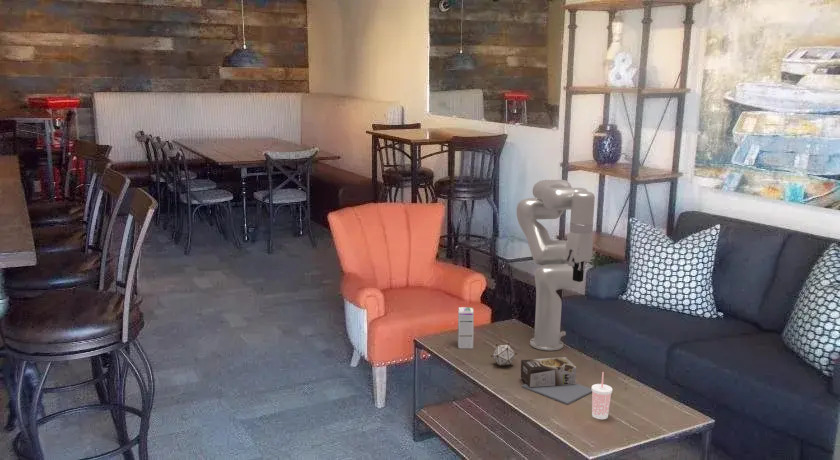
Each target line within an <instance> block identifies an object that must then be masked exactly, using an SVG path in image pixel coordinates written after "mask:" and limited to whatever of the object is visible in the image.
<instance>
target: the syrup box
mask: <svg viewBox="0 0 840 460" xmlns="http://www.w3.org/2000/svg"><path fill="white" fill-rule="evenodd" d="M457 312H458V314H457V317H458V318H457V319H458V320H457V348H458V349H463V350H464V349H469V350H471V349H472V350H473V349H474V331H475V329H474V318H475V317H474V314H475V313H474V307H469V306H468V307H467V306H463V307H462V306H461V307H460V306H459V307H458V311H457Z"/></svg>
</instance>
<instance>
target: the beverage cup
mask: <svg viewBox="0 0 840 460" xmlns="http://www.w3.org/2000/svg"><path fill="white" fill-rule="evenodd" d="M604 373H605V372H604V371H602V372H601V374H602V375H601V382H600V383H595V384H593V385H592V386H591V390H592V393H591V416H592V417H593V418H595V419H597V420H606V419H608V418H609V412H610V403H611V398H612V397H611V396H612V393H613V388H612V386H610V385H608V384H604V375H605V374H604Z"/></svg>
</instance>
